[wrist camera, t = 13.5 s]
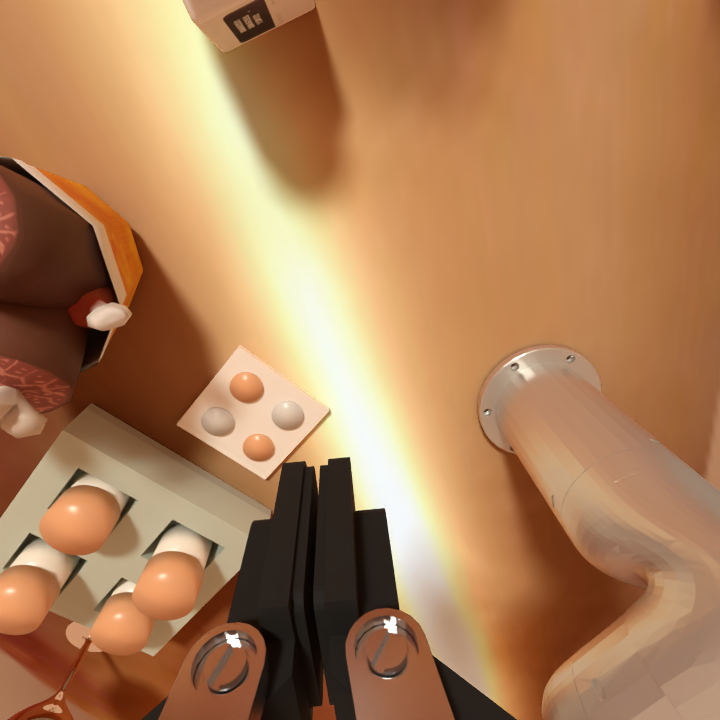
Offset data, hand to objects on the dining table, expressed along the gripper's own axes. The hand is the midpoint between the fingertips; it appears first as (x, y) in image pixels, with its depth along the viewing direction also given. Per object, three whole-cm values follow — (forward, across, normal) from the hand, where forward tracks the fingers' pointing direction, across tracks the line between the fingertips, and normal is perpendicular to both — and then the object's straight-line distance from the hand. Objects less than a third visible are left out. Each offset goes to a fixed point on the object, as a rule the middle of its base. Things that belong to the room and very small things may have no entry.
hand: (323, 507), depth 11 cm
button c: (+30, +25, +34) cm, 52 cm away
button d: (+28, +32, +27) cm, 51 cm away
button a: (+28, +18, +27) cm, 43 cm away
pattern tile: (+31, +10, +15) cm, 36 cm away
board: (+31, +25, +27) cm, 48 cm away
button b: (+30, +25, +20) cm, 44 cm away
